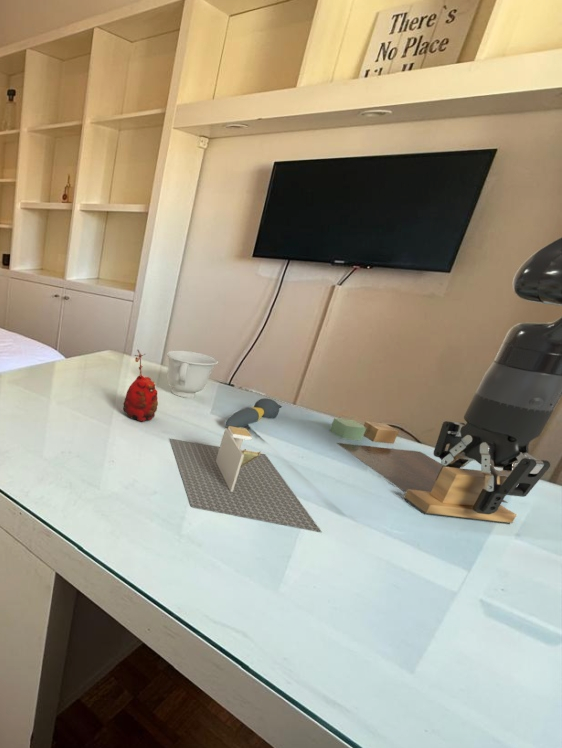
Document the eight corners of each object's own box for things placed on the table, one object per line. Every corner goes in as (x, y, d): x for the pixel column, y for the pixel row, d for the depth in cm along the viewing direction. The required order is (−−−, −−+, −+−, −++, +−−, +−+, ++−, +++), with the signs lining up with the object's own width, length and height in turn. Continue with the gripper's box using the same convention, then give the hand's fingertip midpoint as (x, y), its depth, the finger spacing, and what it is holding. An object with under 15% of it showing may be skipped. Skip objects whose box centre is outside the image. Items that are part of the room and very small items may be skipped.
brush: (480, 514, 72) (504, 470, 69) (507, 531, 68) (534, 485, 65) (400, 504, 73) (420, 461, 70) (421, 521, 69) (444, 475, 66)
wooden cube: (391, 448, 94) (377, 440, 98) (399, 431, 93) (385, 423, 96) (371, 446, 94) (358, 438, 98) (378, 429, 93) (365, 421, 97)
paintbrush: (242, 436, 94) (249, 414, 93) (219, 427, 98) (225, 406, 96) (283, 419, 106) (290, 399, 104) (260, 411, 109) (266, 392, 108)
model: (234, 464, 82) (246, 426, 80) (252, 495, 73) (266, 453, 70) (215, 461, 83) (226, 423, 80) (230, 491, 73) (243, 449, 71)
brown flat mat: (418, 456, 91) (420, 451, 91) (504, 508, 74) (508, 502, 74) (333, 447, 92) (335, 442, 92) (400, 496, 76) (403, 490, 75)
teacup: (150, 396, 114) (158, 358, 111) (165, 382, 126) (173, 347, 122) (201, 409, 108) (211, 369, 104) (212, 393, 119) (222, 357, 116)
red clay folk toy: (150, 426, 97) (165, 358, 91) (117, 417, 100) (129, 351, 95) (157, 415, 103) (171, 351, 97) (126, 407, 106) (138, 345, 101)
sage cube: (359, 445, 94) (347, 437, 98) (366, 427, 93) (353, 420, 97) (339, 443, 95) (327, 434, 99) (346, 425, 93) (333, 418, 97)
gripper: (604, 421, 57) (536, 532, 62) (494, 384, 70) (447, 478, 76) (538, 415, 57) (477, 525, 63) (442, 379, 71) (399, 473, 77)
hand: (461, 499), depth 69 cm, fingers open, 6 cm apart
